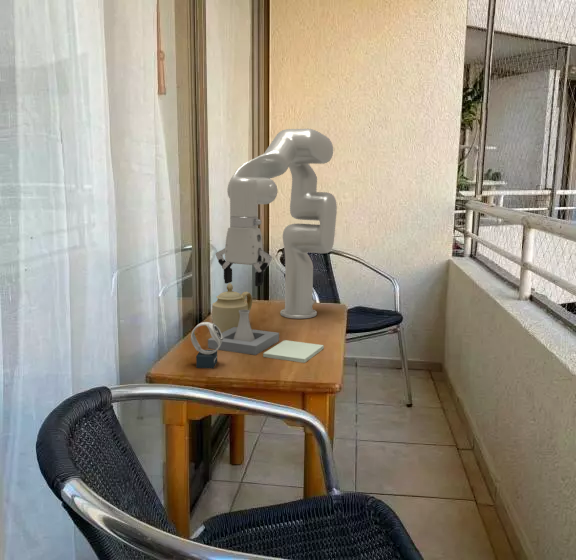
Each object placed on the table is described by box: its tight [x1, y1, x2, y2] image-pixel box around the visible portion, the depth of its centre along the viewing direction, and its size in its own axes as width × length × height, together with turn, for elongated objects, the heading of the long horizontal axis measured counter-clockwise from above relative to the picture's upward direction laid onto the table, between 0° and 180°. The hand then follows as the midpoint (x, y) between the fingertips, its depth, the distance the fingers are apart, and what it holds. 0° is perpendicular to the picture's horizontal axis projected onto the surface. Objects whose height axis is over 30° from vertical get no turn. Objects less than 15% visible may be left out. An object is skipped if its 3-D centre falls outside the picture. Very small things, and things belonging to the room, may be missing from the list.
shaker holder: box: [207, 327, 280, 356], centre depth 169 cm, size 15×15×2 cm
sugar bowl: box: [211, 282, 253, 333], centre depth 185 cm, size 15×11×15 cm
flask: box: [233, 310, 255, 342], centre depth 169 cm, size 7×7×10 cm
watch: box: [190, 321, 223, 369], centre depth 150 cm, size 6×8×11 cm
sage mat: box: [262, 339, 325, 364], centre depth 162 cm, size 14×12×1 cm
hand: (243, 284), depth 166 cm, fingers open, 9 cm apart
